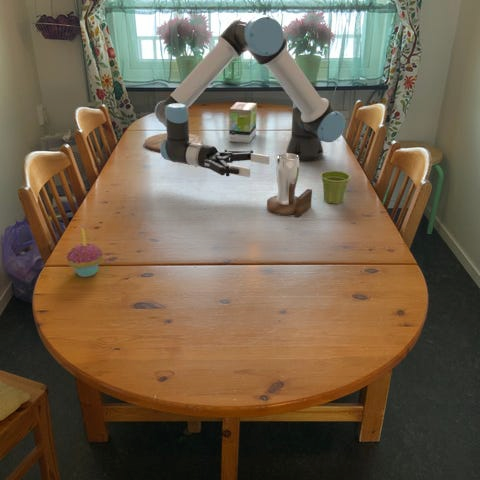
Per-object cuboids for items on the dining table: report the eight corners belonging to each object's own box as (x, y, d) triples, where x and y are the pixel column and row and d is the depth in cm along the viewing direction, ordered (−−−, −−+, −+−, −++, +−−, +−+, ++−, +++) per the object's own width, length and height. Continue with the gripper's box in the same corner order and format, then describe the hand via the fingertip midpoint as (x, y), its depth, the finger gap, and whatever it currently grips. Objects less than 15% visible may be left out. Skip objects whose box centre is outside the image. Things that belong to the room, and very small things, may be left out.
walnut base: (260, 210, 157) (260, 193, 154) (276, 197, 166) (277, 180, 164) (297, 219, 152) (299, 201, 149) (312, 205, 161) (313, 188, 158)
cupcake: (73, 264, 127) (66, 221, 122) (107, 262, 128) (101, 220, 122) (66, 282, 120) (58, 237, 114) (102, 280, 120) (95, 236, 115)
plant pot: (330, 208, 159) (332, 182, 155) (313, 198, 166) (315, 173, 162) (353, 203, 163) (356, 178, 159) (335, 193, 170) (338, 169, 166)
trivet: (133, 149, 214) (133, 145, 213) (163, 134, 235) (162, 130, 234) (185, 156, 206) (185, 152, 205) (211, 140, 226) (211, 136, 225)
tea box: (250, 143, 222) (251, 109, 215) (228, 141, 223) (228, 108, 216) (256, 134, 235) (257, 102, 228) (235, 132, 236) (235, 101, 230)
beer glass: (282, 196, 162) (284, 151, 156) (300, 201, 159) (303, 155, 152) (270, 203, 157) (272, 157, 150) (290, 208, 154) (292, 161, 147)
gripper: (222, 156, 178) (275, 166, 169) (182, 178, 159) (240, 190, 150) (221, 135, 175) (276, 144, 166) (180, 155, 155) (240, 166, 146)
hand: (259, 166), depth 158 cm, fingers open, 13 cm apart
